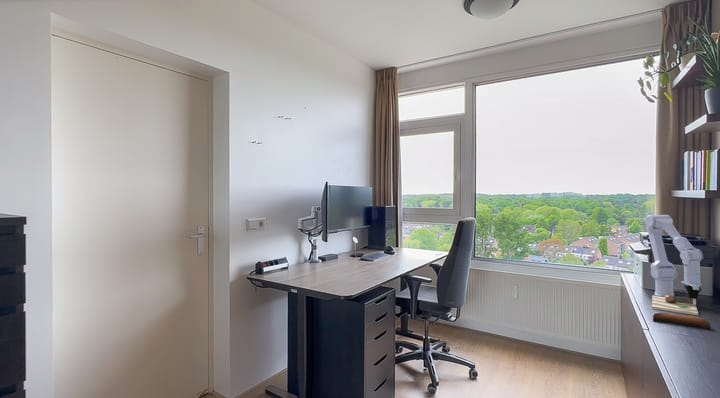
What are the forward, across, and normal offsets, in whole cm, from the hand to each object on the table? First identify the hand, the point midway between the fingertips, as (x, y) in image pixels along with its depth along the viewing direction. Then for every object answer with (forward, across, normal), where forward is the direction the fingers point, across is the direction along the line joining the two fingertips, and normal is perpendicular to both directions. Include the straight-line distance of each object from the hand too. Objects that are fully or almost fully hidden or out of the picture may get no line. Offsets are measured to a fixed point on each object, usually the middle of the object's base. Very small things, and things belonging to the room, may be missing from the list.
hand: (693, 301), depth 167 cm
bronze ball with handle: (+1, +4, -5) cm, 6 cm away
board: (+2, +5, -8) cm, 10 cm away
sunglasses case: (+3, +32, -10) cm, 34 cm away
